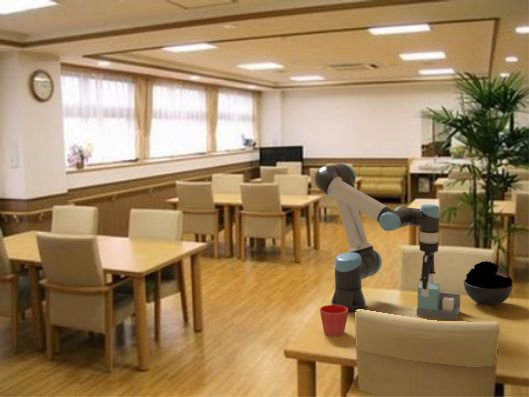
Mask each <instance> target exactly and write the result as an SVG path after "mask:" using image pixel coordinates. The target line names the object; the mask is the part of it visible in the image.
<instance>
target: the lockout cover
mask: <svg viewBox="0 0 529 397" xmlns="http://www.w3.org/2000/svg"><path fill="white" fill-rule="evenodd" d="M421 289H422V281H420V283H419V285H418V286H417V307H418V308H420V309H429V310H438V308H439V306H440V291H441V283H434V282H433V283H429V290H428V297H425V296H421Z"/></svg>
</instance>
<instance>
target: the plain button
mask: <svg viewBox="0 0 529 397" xmlns="http://www.w3.org/2000/svg"><path fill="white" fill-rule="evenodd" d="M443 310H451V311H453V310H454V298H446V297H444V298H443Z"/></svg>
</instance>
